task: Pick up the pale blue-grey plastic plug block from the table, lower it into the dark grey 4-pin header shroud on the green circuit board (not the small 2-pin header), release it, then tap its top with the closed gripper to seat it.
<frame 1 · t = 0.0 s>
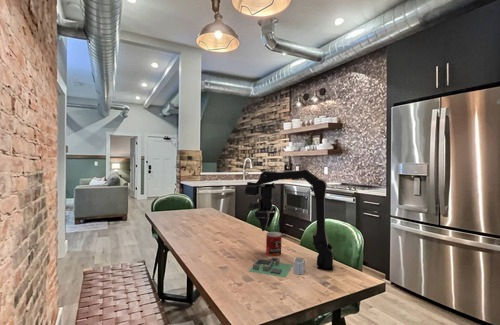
hand: (265, 228, 136), 15 cm above the table, fingers open, 9 cm apart
plug: (299, 274, 119), on the table
canned food: (273, 255, 142), on the table
board: (271, 270, 122), on the table
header: (263, 267, 123), resting on board
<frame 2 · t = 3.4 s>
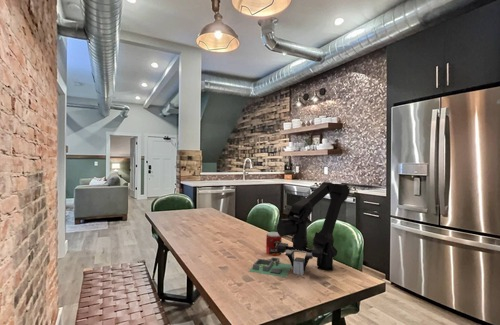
hand: (299, 270, 119), 2 cm above the table, fingers closed on plug, 4 cm apart
plug: (299, 274, 119), on the table, touching gripper
everything else where it was.
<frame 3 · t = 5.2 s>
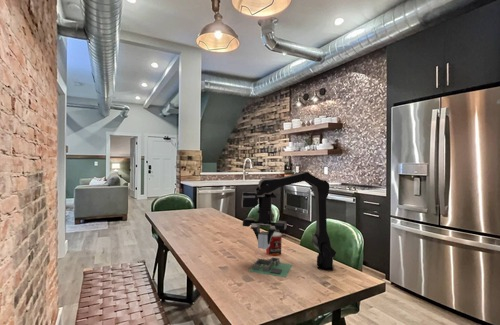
hand: (264, 243, 123), 12 cm above the table, fingers closed on plug, 4 cm apart
plug: (263, 247, 123), point 10 cm above the table, touching gripper
everything else where it was.
when the fingers open (4 cm above the table, at t = 7.2 s): plug stays where it is, resting on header.
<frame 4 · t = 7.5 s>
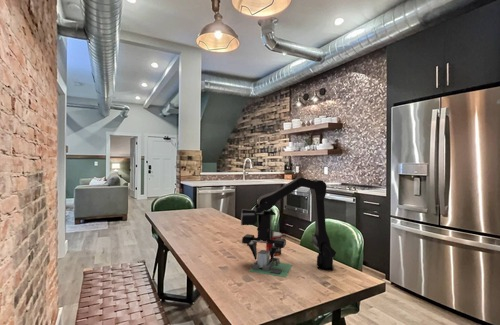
hand: (263, 260, 123), 4 cm above the table, fingers open, 7 cm apart
plug: (263, 265, 123), point 2 cm above the table, touching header
everything else where it was.
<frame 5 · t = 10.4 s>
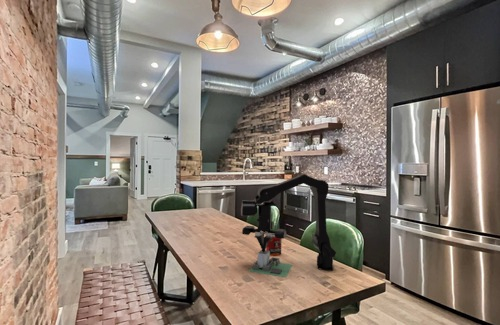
hand: (263, 251, 123), 8 cm above the table, fingers closed
nothing on the table moved.
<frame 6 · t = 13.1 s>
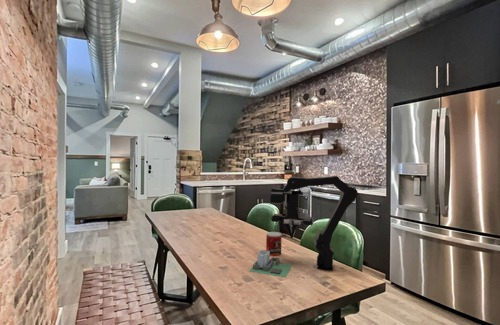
hand: (291, 237, 129), 13 cm above the table, fingers closed
nothing on the table moved.
at the end: plug 0.1 cm off-centre on the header, point 0.6 cm above the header's base; plug tilted 0°; the gripper is holding nothing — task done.
